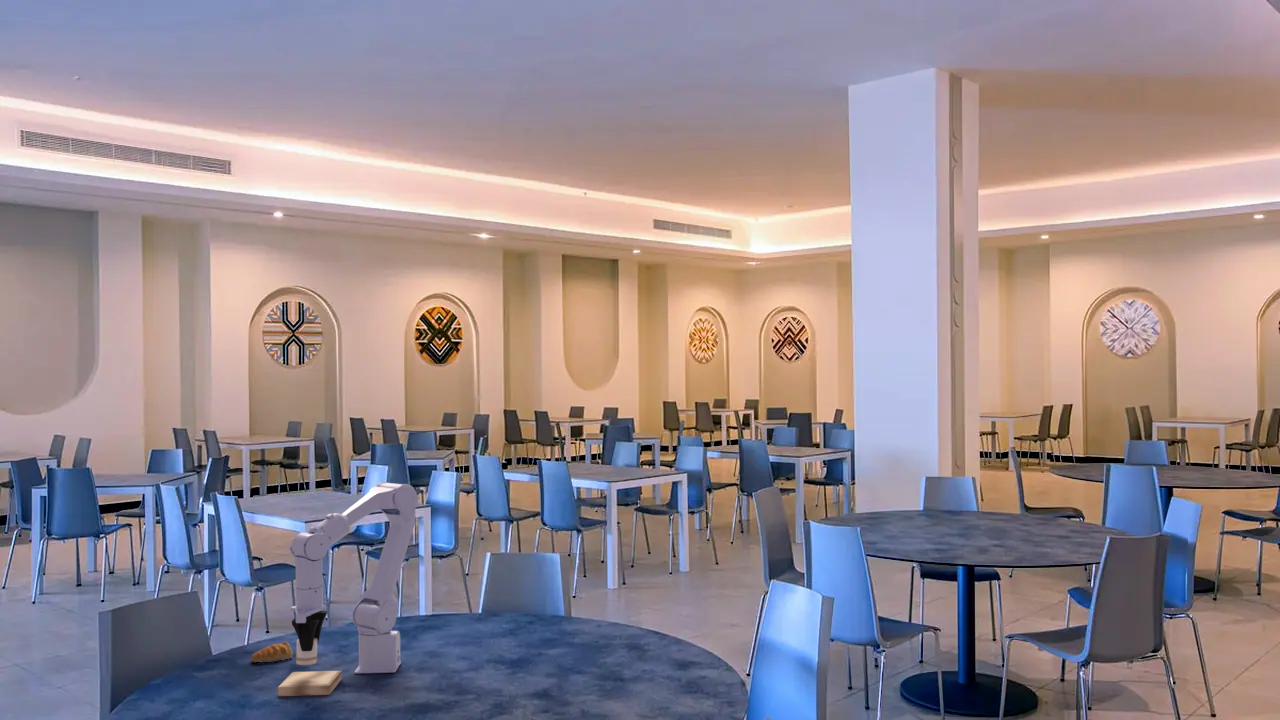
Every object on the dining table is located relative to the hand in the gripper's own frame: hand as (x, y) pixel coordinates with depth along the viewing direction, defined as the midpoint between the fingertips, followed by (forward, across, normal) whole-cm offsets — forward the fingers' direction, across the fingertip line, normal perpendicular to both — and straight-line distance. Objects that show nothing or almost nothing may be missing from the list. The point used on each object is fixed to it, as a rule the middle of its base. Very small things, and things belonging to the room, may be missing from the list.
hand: (310, 647), depth 227 cm
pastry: (+9, -24, -15) cm, 30 cm away
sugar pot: (+3, 0, -1) cm, 3 cm away
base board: (+9, 0, 0) cm, 9 cm away
